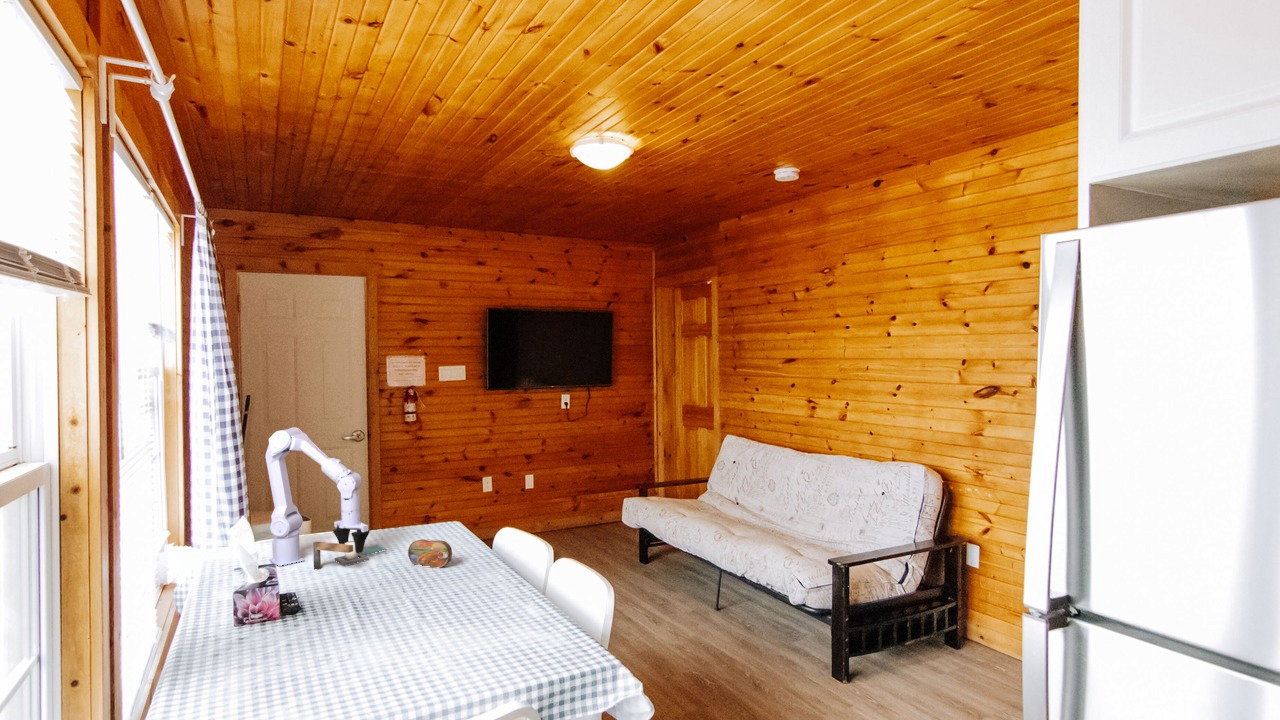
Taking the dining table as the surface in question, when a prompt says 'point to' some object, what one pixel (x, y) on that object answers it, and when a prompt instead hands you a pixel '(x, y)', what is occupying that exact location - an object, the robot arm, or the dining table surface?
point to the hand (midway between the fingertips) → (351, 550)
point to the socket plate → (344, 562)
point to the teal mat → (372, 549)
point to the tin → (430, 553)
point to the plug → (352, 554)
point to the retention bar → (328, 547)
